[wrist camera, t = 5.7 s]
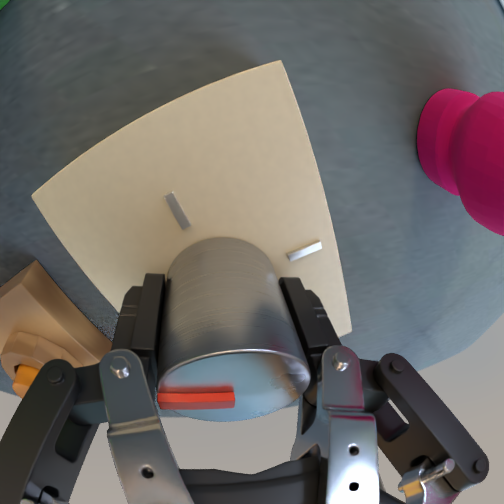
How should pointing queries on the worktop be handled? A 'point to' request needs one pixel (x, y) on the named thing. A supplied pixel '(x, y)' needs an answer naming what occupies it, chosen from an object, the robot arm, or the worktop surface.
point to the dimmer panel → (201, 190)
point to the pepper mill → (466, 151)
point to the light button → (24, 379)
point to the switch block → (44, 325)
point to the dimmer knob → (227, 336)
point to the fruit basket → (3, 3)
